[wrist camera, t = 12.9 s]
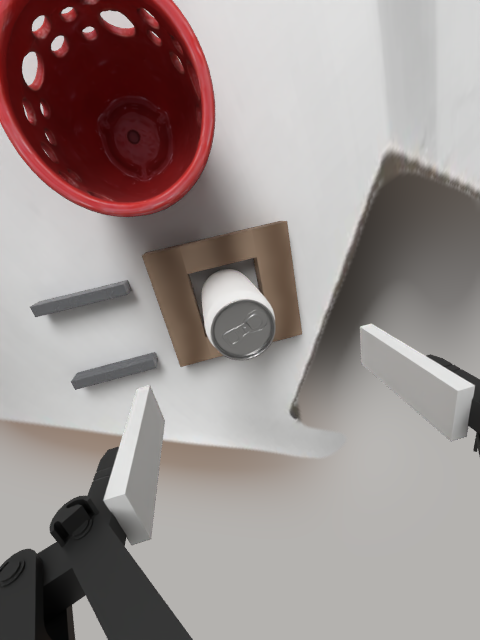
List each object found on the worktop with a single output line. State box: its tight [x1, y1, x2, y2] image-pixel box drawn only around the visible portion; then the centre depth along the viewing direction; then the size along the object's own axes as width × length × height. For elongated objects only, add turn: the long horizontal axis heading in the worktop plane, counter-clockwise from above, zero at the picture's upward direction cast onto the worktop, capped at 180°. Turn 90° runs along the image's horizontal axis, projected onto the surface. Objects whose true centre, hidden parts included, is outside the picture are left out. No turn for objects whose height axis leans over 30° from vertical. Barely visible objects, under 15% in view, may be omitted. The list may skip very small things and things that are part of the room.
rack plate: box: [142, 221, 302, 367], centre depth 33 cm, size 16×14×3 cm
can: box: [202, 269, 276, 360], centre depth 28 cm, size 6×6×12 cm
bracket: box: [30, 280, 158, 390], centre depth 32 cm, size 10×11×2 cm
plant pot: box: [0, 0, 215, 217], centre depth 22 cm, size 13×13×12 cm
